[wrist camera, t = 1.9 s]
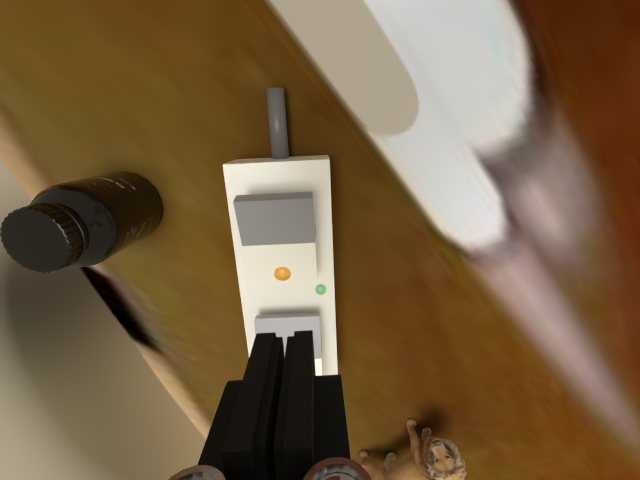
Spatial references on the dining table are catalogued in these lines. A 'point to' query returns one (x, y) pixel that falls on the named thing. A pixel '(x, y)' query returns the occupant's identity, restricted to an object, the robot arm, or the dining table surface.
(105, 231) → the supplement bottle
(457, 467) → the lion figurine
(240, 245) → the strip
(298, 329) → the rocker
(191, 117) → the dining table surface
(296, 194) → the rocker
